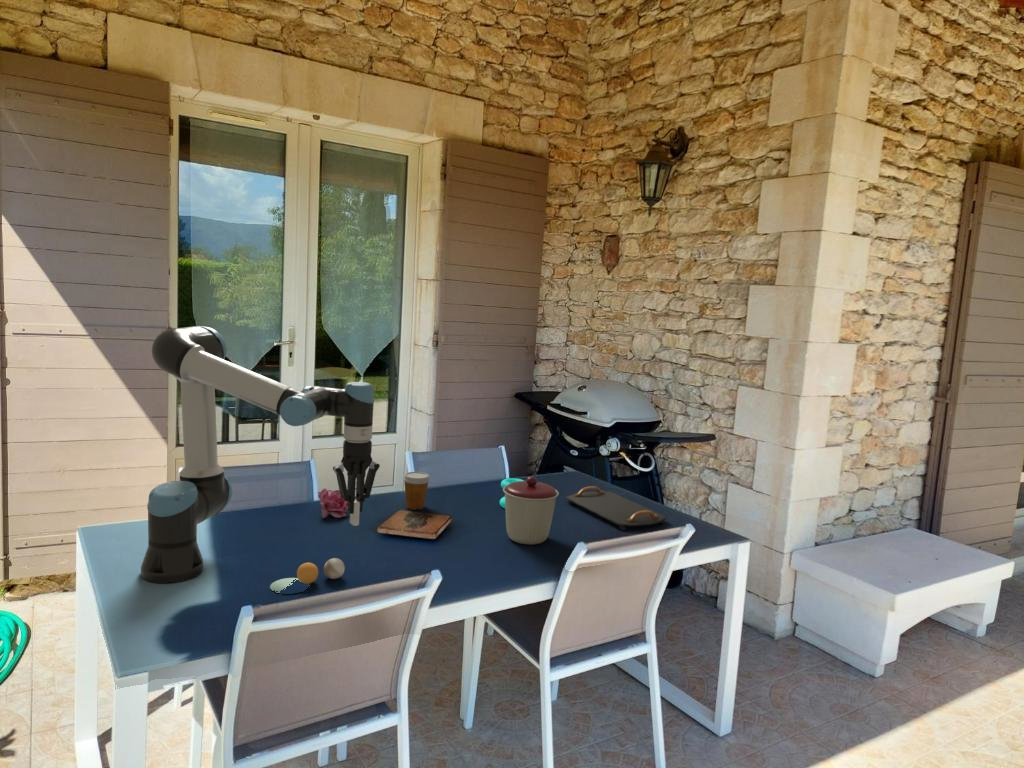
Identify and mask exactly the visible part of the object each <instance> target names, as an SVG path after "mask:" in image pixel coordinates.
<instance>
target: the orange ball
mask: <svg viewBox="0 0 1024 768" xmlns="http://www.w3.org/2000/svg"><path fill="white" fill-rule="evenodd" d="M318 576H319V568H318V566H317V565H316V564H314V563H312V562H304V563H302V564H300V565H299V566H298V568H297V571H296V578H298V580H299V581H300V582H302V583H304V584H310V585H311V584H312V583H314V582H315V581H316V580H317V578H318Z"/></svg>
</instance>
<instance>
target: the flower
mask: <svg viewBox="0 0 1024 768" xmlns="http://www.w3.org/2000/svg"><path fill="white" fill-rule="evenodd" d="M317 497H318V499H319V501H320V505H321V514H322V515H321V516H322V519H326V518H327V517H328V516H329V515H331V516H333V517H334V518H342V517H347V516H346V515H347V514H346V513H345V511H347V506H348V501H345V500H343V499H342V498H341V495H340V490H331V489H329V490H328V489H327V488H322V489H321V491H320V492H319V493H318V496H317Z"/></svg>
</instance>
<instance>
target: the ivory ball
mask: <svg viewBox="0 0 1024 768" xmlns="http://www.w3.org/2000/svg"><path fill="white" fill-rule="evenodd" d="M345 568H346V567H345V563H344V562H343V560H342V559H340V558H338V557H332V558H330V559H328V560H327V561H326V562H325V564H324V566H323V573H324V575H325V576H326V577H327V578H328V579H331V580H336V579H339V578H340V577H342V576H343V575H344V572H345V570H346V569H345Z"/></svg>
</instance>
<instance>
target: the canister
mask: <svg viewBox="0 0 1024 768" xmlns="http://www.w3.org/2000/svg"><path fill="white" fill-rule="evenodd" d="M502 491H503V493H504V497H505V509H504V511H505V526H506V527H505V529H506V533H507V536H508V538H509V539H510V540H512V541H513V542H516V543H517V544H520V545H521V544H522V545H531V546H532V545H539V544H542V543H543V542H545V541H546V540H547V539H548V537H549V534H550V531H551V526H552V521H553V517H554V511H555V507H556V501H557V497H558V496H559V494H560V493H559V491H558V490H557V489H555V488H554V487H553V486H552V485H551V484H550V485H549V484H547V483H544V482H541V481H538V480H537V478H536V477H535V476H528V477H527V478H526V479H525V480H524V481H517V482H513V483H510V484H509V485H506V486H505V487H504V488H502Z"/></svg>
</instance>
